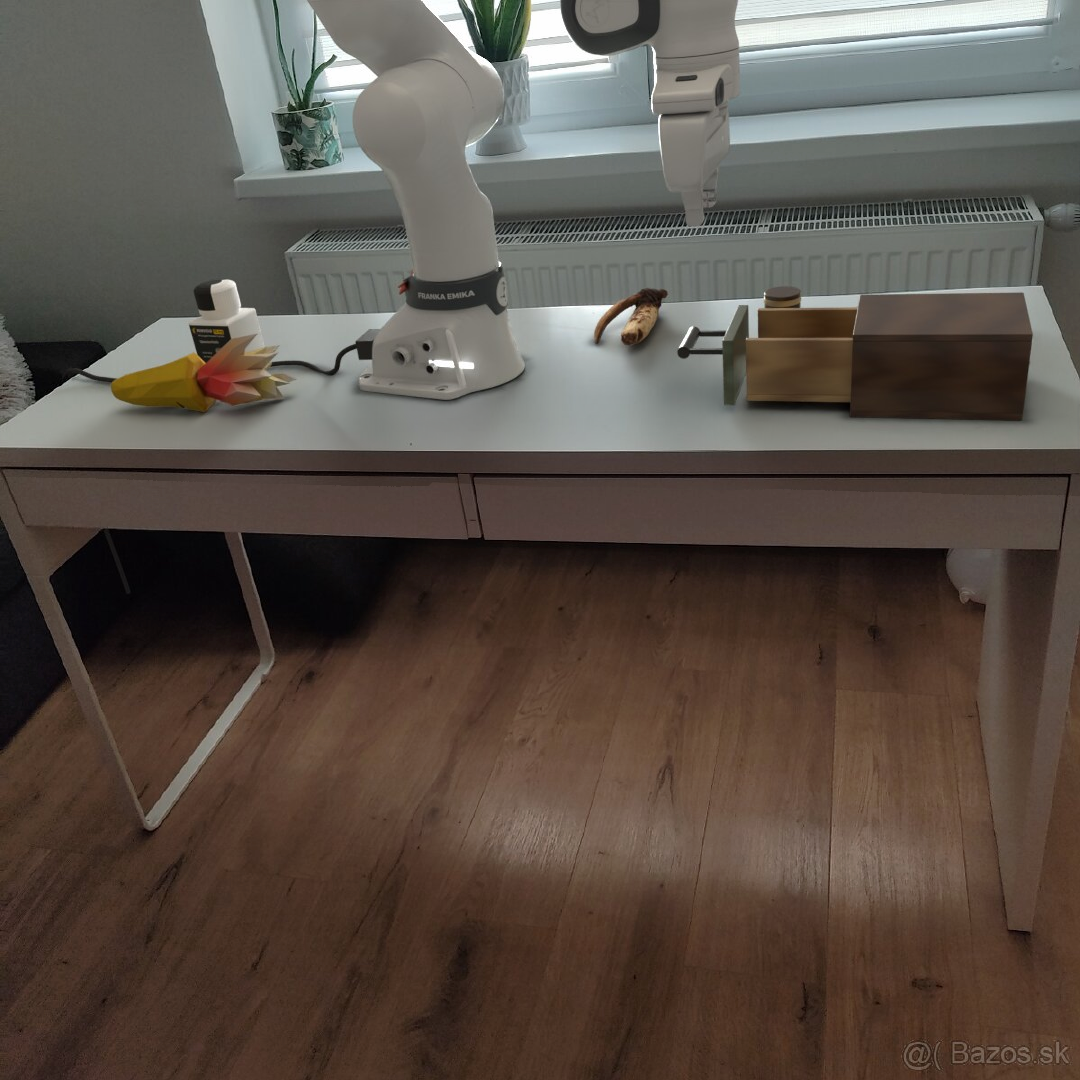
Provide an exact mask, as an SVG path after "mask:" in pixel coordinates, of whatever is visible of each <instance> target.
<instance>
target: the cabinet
mask: <svg viewBox="0 0 1080 1080" xmlns="http://www.w3.org/2000/svg"><path fill="white" fill-rule="evenodd" d="M857 307H858V309H857V315H856V320H855V326H854V332H853V346H852V374H851V401H850V402H849V404H850V405H849V417H851V418H882V419H883V418H887V419H890V418H891V419H927V420H928V419H930V420H931V419H932V420H933V419H934V420H935V419H936V420H975V421H977V420H981V421H982V420H984V421H1023V420H1024V411H1025V405H1026V404H1025V403H1026V395H1027V388H1028V387H1027V385H1028V377H1029V371H1030V361H1031V354H1032V348H1033V347H1032V346H1033V337H1034V332H1033V328H1032V323H1031V320H1030V314H1029V309H1028V306H1027V302H1026V297H1025V293H1024V292H1023V291H1022V292H963V293H960V292H959V293H956V292H955V293H953V292H952V293H949V292H948V293H891V294H890V293H889V294H887V293H885V294H884V293H883V294H882V293H881V294H880V293H879V294H860V295H859V299H858V303H857Z"/></svg>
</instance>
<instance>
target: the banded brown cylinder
mask: <svg viewBox="0 0 1080 1080" xmlns="http://www.w3.org/2000/svg"><path fill="white" fill-rule="evenodd" d="M763 295H764V296H763V304H764V305H763V307H764V308H802V305H801V303H802V291H801V289H800V288H798V287H795V286H789V285H788V286H787V285H784V286H783V285H781V286H775V287H770V288H768V289H766V290H765V291H764V293H763Z"/></svg>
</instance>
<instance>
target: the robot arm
mask: <svg viewBox="0 0 1080 1080" xmlns="http://www.w3.org/2000/svg"><path fill="white" fill-rule="evenodd" d="M306 2H307V3H308V4H309V6H310V7H311V10H313V12H314V13H315V15H316V17H317V18H318V20H319V22H320V23H321V24H322V26H323V27H324V29H325V30H326V32H327V34H328V35H329V37H330V38H331V40H332V41H333V43H334V45H336V46H337V47H338V48H339V49H340V50H341V51H342V52H344V53H345V54H347V55H349V56H350V57H352V58H354V59H356V60H357V61H359V62H360V63H361V64H363V65H364V66H365V67H367V68H368V69H369V70H370V71H371V72H372V73H373V74H374V75H375V76H376V78H375V79H374V80H372V81H371V82H370V83H369V84H368V85H367V86H366V87H365V88H364V89H362V91H361V92H360V93H359V95H358V96H357V98H356V99H355V103H354V106H353V110H352V130H353V133H354V136H355V139H356V142H357V144H358V146H359V147H360V149H361V151H362V152H363V154H364V155H365V156H366V157H367V158H368V159H369V160H370V161H371V162H373V163H374V164H375V165H376V166H377V167H379V168H380V169H381V171H382V173H383V174H384V175H385V177H386V179H387V181H388V183H389V185H390V188H391V190H392V192H393V193H394V195H395V199H396V201H397V203H398V206H399V210H400V212H401V215H402V219H403V223H404V227H405V232H406V238H407V243H408V246H409V247H408V249H409V253H410V259H411V265H412V269H411V271H410V274H409V275H408V276H406V277H405V278H403V280H402V283H401V284H399V285H398V286H397V289H399V290H398V295H402V294H405V303H403V305H402V306H401V307H400V308H399V309H398V310H397V311H396V312H395V313H394V314H393V315H392V316H391V317H390V318H389V319H388V320H387V321H386V322H385V323H384V325H382V327H381V328H369V329H368V330H366V331H365V332H364V333H363V334H362V335H361V336H360V337H359V338H358V339H356V340H355V343H353V344H350V345H348V346H346V347H345V348H343V349H341V350H340V351H339V352H338V353H337V355H336V357H335V362H334V367H333V368H332V369H330V370H324V369H322V368H320V367H318V366H316V365H314V364H313V363H311V362H307V361H304V360H277V361H273V362H272V361H271V362H272V365H271V366H270V367H269V368H274V367H283V366H298V367H304V368H307V369H310V370H311V371H313V372H317V373H320V374H323V375H326V376H334V375H336V374H337V373H338V372H339V370H340V368H341V363H342V359H343V357H344V356H345V355H346V354H347V353H350V352H352V351H354V350H356V352H357V357H358V360H359V361H371V363H370V364H368V366H366V368H365V369H363V370H362V372H361V374H360V375H359V378H358V386H359V390H360V391H364V392H369V393H371V392H372V393H381V394H387V395H388V394H389V395H398V396H407V397H416V398H417V397H418V398H423V399H424V398H426V399H434V400H444V401H450V400H455V399H457V398H461V397H463V396H465V395H467V394H471V393H474V392H479V391H483V390H487V389H491V388H495V387H498V386H500V385H503V384H505V383H508V382H510V381H512V380H514V379H515V378H517V377H518V376H520V375H521V374H522V373H523V371H524V370H525V367H526V364H525V363H526V362H525V361H524V359H523V357H522V354H521V352H520V350H519V347H518V345H517V342H516V339H515V334H514V332H513V328H512V324H511V321H510V316H509V311H508V306H509V303H508V296H509V295H508V286H507V281H506V277H505V271H504V265H503V263H502V262H501V261H500V259H499V251H498V244H497V243H498V242H497V236H496V229H495V219H494V214H493V205H492V203H491V201H490V199H489V198H488V196H487V195H486V194H485V193H484V192H482V191H481V190H480V188H479V186H478V185H477V181H476V180H475V178H474V175H473V172H472V170H471V167H470V164H469V162H468V158H467V152H466V148H467V147H469V146H471V145H474V144H476V143H478V142H479V141H480V140H482V139H483V138H485V136H486V135H487V134H488V133H489V132H490V131H491V129H492V128H493V127H494V125H495V124H496V123H497V122H498V120H499V119H500V117H501V114H502V113H503V109H504V105H505V104H504V103H505V90H504V86H503V82H502V79H501V77H500V75H499V73H498V71H497V70H496V68H494V67H495V66H493V65H492V64H491V63H490V62H489V61H488V60H487V59H485V58H483V57H482V56H480V55H478V54H476V53H475V52H473V51H472V50H470V49H469V47H467V46H466V45H465V44H464V43H463V42H462V40H460V39H459V37H458V36H456V34H455V33H454V32H453V31H452V30H451V29H450V28H449V26H447V25H446V24H445V22H444V21H443V20H442V19H441V18H440V17H439V16H438V15H437V14H436V13H435V12H434V10H433V9H432V8H431V7H430V6H429V5H428V4H427V3H426V2H425V1H424V0H306ZM738 4H739V0H559V11H560V17H561V22H562V25H563V27H564V30H565V32H566V34H567V36H568V37H569V40H571V41H572V42H573V44H574V45H575V46H577V48H579V49H581V50H582V51H583V52H585V53H588V54H591V55H596V56H603V57H611V56H612V57H613V56H616V55H620V54H623V53H626V52H631V51H634V50H636V49H638V48H642V47H651V48H652V52H653V69H654V76H653V77H654V78H653V79H654V80H653V81H654V86H653V89H652V93H651V99H650V100H651V110H652V111H651V112H652V114H653V115H654V116H658V115H659V116H658V138H659V149H660V155H661V163H662V165H661V166H662V171H663V173H662V174H663V178H664V183H665V185H666V188H667V190H668V192H669V193H680V197H681V200H682V204H683V208H684V212H685V214H684V215H685V224H686V225H687V226H688V227H700V226H701V225H703V223H704V221H705V209H707V208H713V207H714V206H715V205H716V204H717V202H718V196H717V195H718V194H717V193H718V192H717V191H718V190H717V188H718V181H719V173H720V165H721V163H722V162H723V161H724V160H725V158H726V157H727V155H728V154H729V152H730V147H731V131H730V113H729V101H730V100H733V99H735V98H738V97H739V96H740V95H741V78H740V77H741V76H740V75H741V73H740V68H741V67H740V66H741V65H740V41H739V37H738V34H737V30H736V29H737V28H736V13H737V8H738ZM71 374H77V375H80V376H83V377H85V378H87V379H89V380H93V381H96V382H104V383H110V384H111V383H112V382H113V381H114V380H116V379H118V378H115V377H109V376H100V375H95V374H92V373H90V372H88V371H85V370H83V369H80V368H76V367H75V368H74V367H73V368H72V367H71V368H68V369H66V370H65V372H64V373H63V374H62V377H61V378H62V379H68V378H69V376H70V375H71ZM103 533H104V535H105V539H106V540H107V543H108V545H109V548H110V551H111V553H112V556H113V558H114V561H115V564H116V567H117V570H118V573H119V575H120V579H121V581H122V583H123V587H124V590H125V593H126V595H130V594H131V593H132V592H131V589H130V586H129V582H128V579H127V577H126V574H125V572H124V569H123V566H122V563H121V560H120V558H119V555H118V552H117V550H116V547H115V544H114V541H113V539H112V536H111V533H110V531H109V528H108V529H105V530H103Z"/></svg>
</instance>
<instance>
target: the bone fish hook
mask: <svg viewBox="0 0 1080 1080" xmlns="http://www.w3.org/2000/svg"><path fill="white" fill-rule="evenodd" d="M667 296H669V292H668V291H667V290H666V289H664V288H658V289H657V288H654V287H643V288H641V289H640V290H638V291H637V292H636V293H633V294H630V296H627V297H624V298H623V299H621V300H619V301H617V302H616V303H615V304H613V305H612V306H611V307H610V308H609V309H608V310H607V311H606V312H605V313H604V314H603V315H602V316H601V317H600V319H598V321H597V324H596V325H595V329H594V332H593V341H594V344H598V343H599V342H600V339H601V338H602V335H603V333H604V332H605V330H606V328H607V326H608V325H609V324H611V322H613V320H615V319H616V318H617V317H618V316H619V315H620V314H622V313H623V312H624V311H627V310H628V309H629V308H632V307H633V306H634V307H635V308H634V310H633V311H632V314H631V315H630V317H629V318H628V320H627V322H626V325H625V326H624V328H622V332H621V334H620V341H621V343H622V344H623V345H624V346H633V345H637V344H640V343H641V342H642V341H643V340H644V339H645V338H646V337H648V335H649V334H650V332H651V330H652V329H653V328H654V326H655V324H656V322H657V320H658V316H659V310H660V308H661V307H662V300H663V299H666V298H667Z"/></svg>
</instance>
